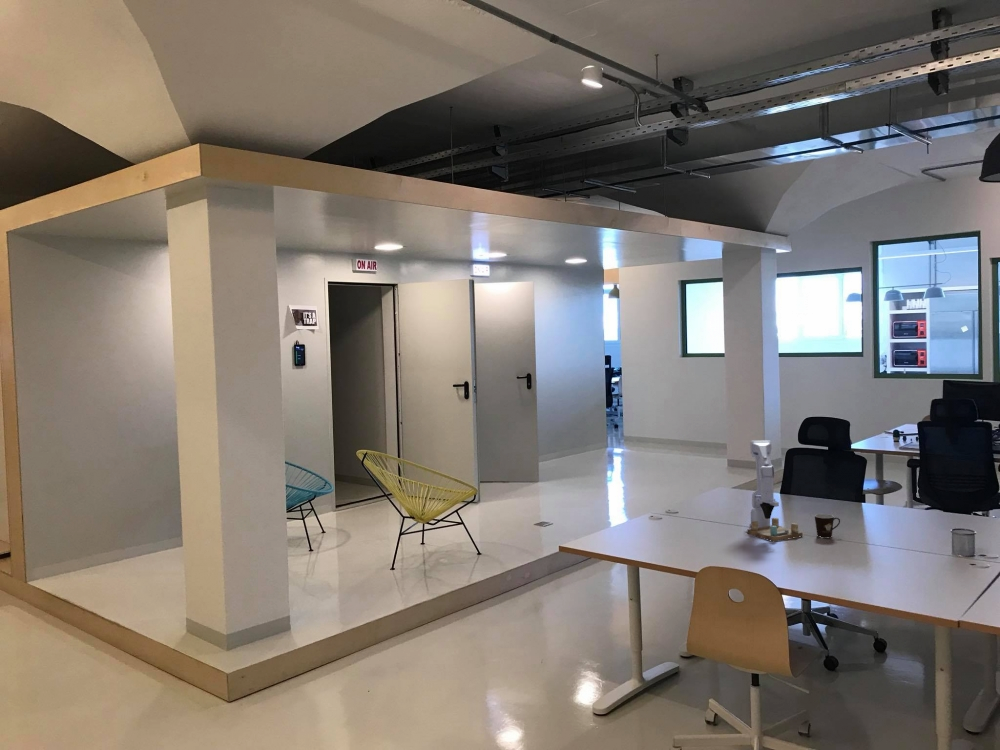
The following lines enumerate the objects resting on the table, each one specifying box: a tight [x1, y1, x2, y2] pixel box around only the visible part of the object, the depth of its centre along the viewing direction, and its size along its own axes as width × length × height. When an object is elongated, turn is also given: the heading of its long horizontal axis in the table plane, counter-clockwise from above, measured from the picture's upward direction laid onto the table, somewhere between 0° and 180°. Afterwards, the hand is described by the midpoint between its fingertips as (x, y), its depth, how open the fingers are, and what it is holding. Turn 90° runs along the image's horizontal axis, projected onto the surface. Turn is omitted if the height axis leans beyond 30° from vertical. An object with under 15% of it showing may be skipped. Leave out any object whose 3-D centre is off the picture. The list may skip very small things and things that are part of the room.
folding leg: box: [770, 526, 789, 536], centre depth 367 cm, size 10×3×4 cm, turn 113°
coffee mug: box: [814, 513, 841, 538], centre depth 368 cm, size 12×9×10 cm
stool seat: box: [746, 517, 803, 542], centre depth 374 cm, size 18×18×6 cm
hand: (767, 518), depth 370 cm, fingers closed
